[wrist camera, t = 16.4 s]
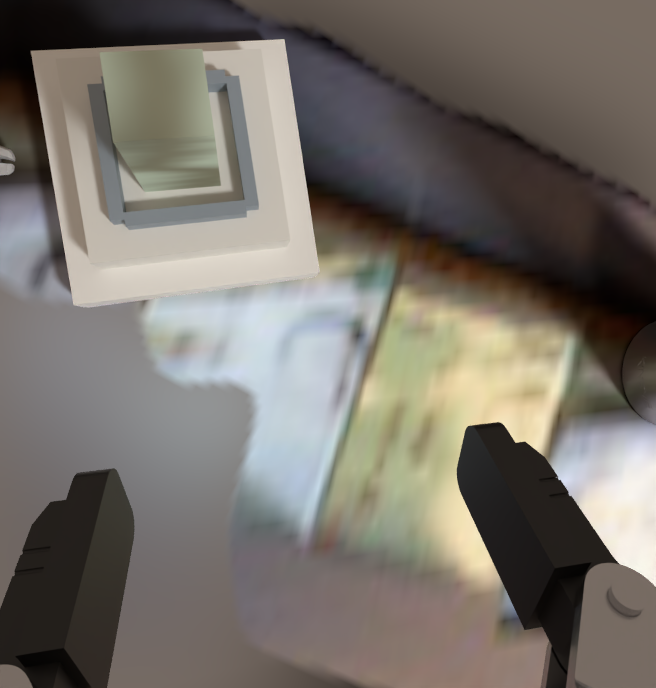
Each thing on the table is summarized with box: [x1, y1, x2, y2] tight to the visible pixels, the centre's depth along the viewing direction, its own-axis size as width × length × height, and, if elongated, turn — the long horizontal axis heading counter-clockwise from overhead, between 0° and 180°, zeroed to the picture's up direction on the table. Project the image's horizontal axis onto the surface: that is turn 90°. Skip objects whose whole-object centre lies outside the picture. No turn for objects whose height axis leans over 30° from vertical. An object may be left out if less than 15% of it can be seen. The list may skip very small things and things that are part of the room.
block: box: [100, 49, 221, 192], centre depth 26 cm, size 4×4×8 cm
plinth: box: [31, 39, 320, 308], centre depth 32 cm, size 16×16×6 cm
